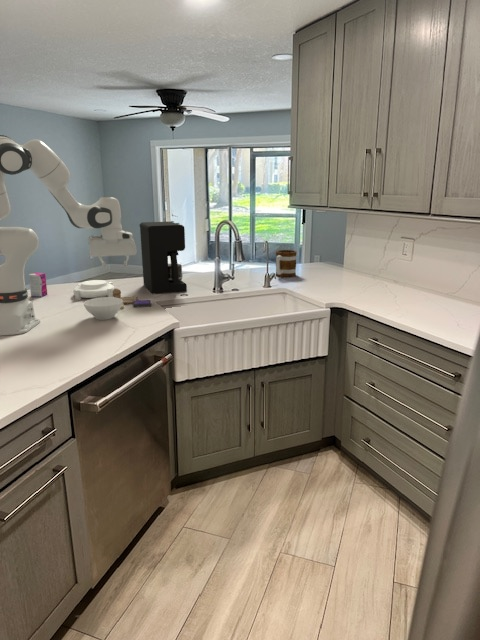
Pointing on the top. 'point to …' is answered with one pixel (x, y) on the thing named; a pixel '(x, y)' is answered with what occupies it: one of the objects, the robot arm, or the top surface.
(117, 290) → the stamp
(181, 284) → the coffee maker
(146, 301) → the ink pad
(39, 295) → the supplement box
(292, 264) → the mug
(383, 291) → the top surface
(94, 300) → the bowl
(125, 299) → the board
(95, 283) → the round stand with pegs
